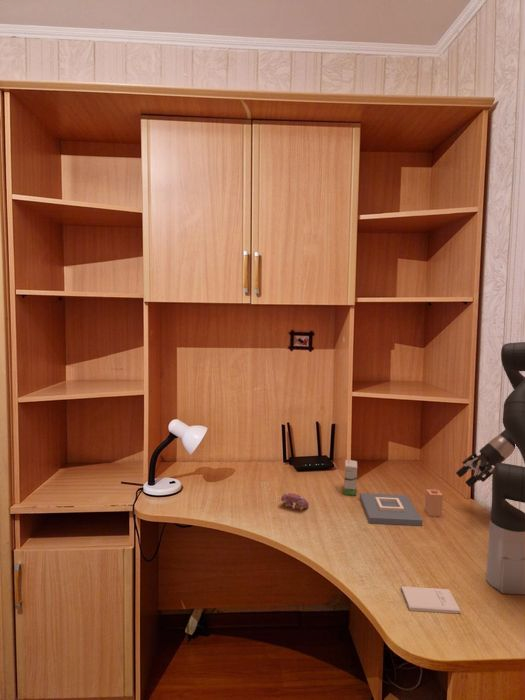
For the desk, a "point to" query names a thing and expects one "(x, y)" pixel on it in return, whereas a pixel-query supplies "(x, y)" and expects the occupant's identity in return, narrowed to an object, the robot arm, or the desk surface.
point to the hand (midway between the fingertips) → (462, 479)
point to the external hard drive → (430, 600)
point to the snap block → (433, 502)
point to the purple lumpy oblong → (294, 500)
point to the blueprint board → (390, 509)
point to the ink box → (350, 477)
